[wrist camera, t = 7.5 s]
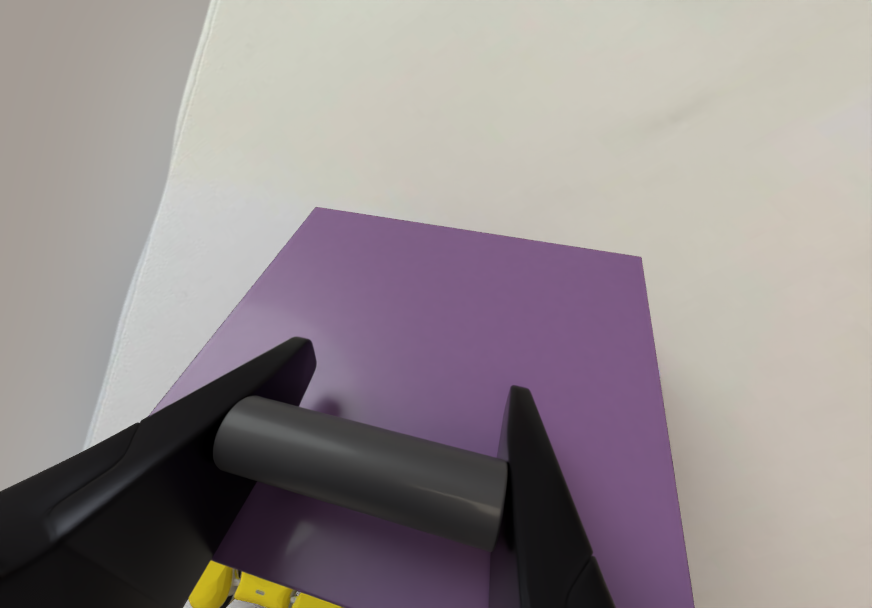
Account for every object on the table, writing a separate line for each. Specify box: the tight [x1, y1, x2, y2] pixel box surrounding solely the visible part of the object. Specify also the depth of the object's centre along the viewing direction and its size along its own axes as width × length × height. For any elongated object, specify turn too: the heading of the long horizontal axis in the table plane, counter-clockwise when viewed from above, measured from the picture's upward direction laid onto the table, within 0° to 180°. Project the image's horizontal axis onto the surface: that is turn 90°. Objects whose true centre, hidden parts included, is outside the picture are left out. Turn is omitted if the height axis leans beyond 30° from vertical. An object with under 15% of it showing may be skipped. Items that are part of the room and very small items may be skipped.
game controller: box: [188, 561, 344, 608], centre depth 20 cm, size 10×6×4 cm, turn 80°
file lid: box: [149, 207, 695, 608], centre depth 10 cm, size 12×13×4 cm
